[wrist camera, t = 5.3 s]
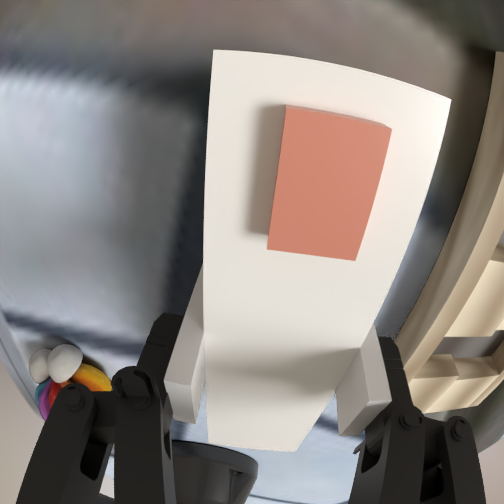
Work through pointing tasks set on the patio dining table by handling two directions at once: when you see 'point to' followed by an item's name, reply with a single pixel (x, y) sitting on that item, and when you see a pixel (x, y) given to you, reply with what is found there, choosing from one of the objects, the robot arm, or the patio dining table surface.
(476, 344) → the square hole board
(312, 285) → the power strip
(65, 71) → the patio dining table surface
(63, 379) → the rainbow stacked discs
